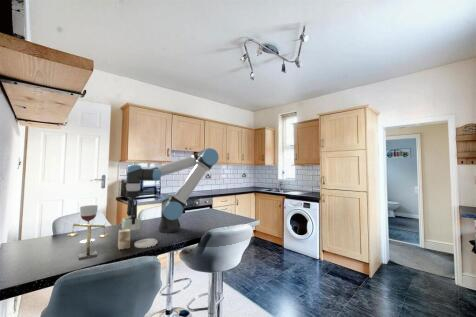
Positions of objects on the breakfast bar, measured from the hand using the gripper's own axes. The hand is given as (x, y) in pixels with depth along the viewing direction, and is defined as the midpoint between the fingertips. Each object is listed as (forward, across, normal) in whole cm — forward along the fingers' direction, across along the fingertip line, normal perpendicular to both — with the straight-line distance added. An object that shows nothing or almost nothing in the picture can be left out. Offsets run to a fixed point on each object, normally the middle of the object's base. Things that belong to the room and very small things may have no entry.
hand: (130, 227), depth 128 cm
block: (+7, +12, -6) cm, 15 cm away
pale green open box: (0, 0, 0) cm, 0 cm away
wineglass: (+7, -12, -21) cm, 25 cm away
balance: (+7, +15, -22) cm, 27 cm away
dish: (+7, +14, +5) cm, 16 cm away
